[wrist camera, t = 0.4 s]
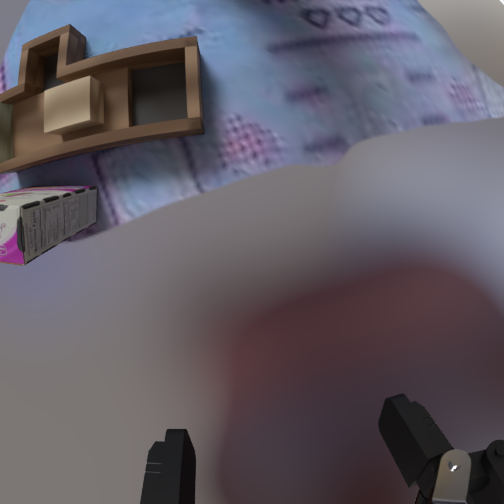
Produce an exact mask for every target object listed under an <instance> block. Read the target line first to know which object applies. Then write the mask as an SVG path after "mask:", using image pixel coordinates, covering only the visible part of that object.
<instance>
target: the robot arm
mask: <svg viewBox="0 0 504 504" xmlns="http://www.w3.org/2000/svg"><path fill="white" fill-rule="evenodd" d="M378 426H379V431H380V433H381V435H382V437H383V439H384V441H385V443H386V445H387V447H388V449H389V450H390V452H391V454H392V456H393V458H394V460H395V462H396V464H397V466H398V468H399V470H400V471H401V474H402V475H403V478H404V479H405V481H406V483H407V485H408V487H409V488H410V487H412V486H414V485H416V484H417V485H418V486H419V490H418V493H417V496H416V500H415V503H414V504H466V502H467V504H504V440H495V441H493V442H492V443H491V444H489V446H488V447H487V449H486V450H482V451H477V452H473V453H466V452H464V451H462V450H459V449H454V448H453V447H452V446H451V445H450V443H449V442H448V440H447V439H446V438H445V436H444V434H443V433H442V432H441V430H440V429H439V427H438V426H437V424H435V422H434V420H433V419H432V417H430V414H429V413H428V412H427V410H426V409H425V407H423V406H422V405H420V404H419V403H417V402H415V401H414V402H410V401H409V400H408V398H407V397H406V395H405V394H398V395H395V396H392V397H389V398H386V399H385V401H384V405H383V408H382V412H381V415H380V418H379V422H378ZM145 471H146V473H145V476H144V482H143V489H142V495H141V502H140V504H195V479H196V478H195V477H196V456H195V450H194V447H193V445H192V442H191V439H190V437H189V434H188V431H187V430H186V429H167V431H166V436H165V442H157V441H156V442H155V443H154V444H153V446H152V447H151V449H150V450H149V454H148V458H147V464H146V470H145Z"/></svg>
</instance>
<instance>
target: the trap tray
mask: <svg viewBox="0 0 504 504" xmlns="http://www.w3.org/2000/svg"><path fill="white" fill-rule="evenodd" d="M85 42H86V37H85V36H84V35H82V34H81V33H80V32H79V31H78V30H77V29H75V28H74V27H73V26H72V25H71V24H69V25H66V26H64V27H61V28H59V29H56V30H54V31H51V32H49V33H47V34H44V35H42V36H40V37H38V38H36V39H33V40H31V41H29V42H27V43H25V44H23V46H22V53H21V60H20V68H19V77H18V86H16V87H13V88H11V89H9V90H7V91H5V92H3V93H1V94H0V174H5V173H13V172H19V171H22V170H25V169H28V168H31V167H35V166H38V165H42V164H45V163H49V162H53V161H56V160H60V159H64V158H68V157H72V156H76V155H80V154H85V153H89V152H94V151H98V150H103V149H108V148H113V147H118V146H124V145H129V144H135V143H141V142H147V141H154V140H160V139H167V138H175V137H183V136H191V135H201V134H204V124H203V108H202V90H201V69H200V51H199V46H198V41H197V37H196V36H194V37H186V38H179V39H172V40H165V41H159V42H154V43H148V44H143V45H138V46H134V47H129V48H125V49H121V50H117V51H113V52H109V53H105V54H102V55H98V56H95V57H91V58H88V59H85V60H84V54H85ZM87 76H92V77H93V78H95V79H96V80H98V81H100V82H101V83H103V84H104V124H103V125H99V126H94V127H90V128H86V129H82V130H78V131H75V132H71V133H67V134H64V135H56V134H48V133H44V91H45V90H48V89H51V88H54V87H56V86H59V85H62V84H65V83H68V82H71V81H74V80H77V79H80V78H84V77H87Z"/></svg>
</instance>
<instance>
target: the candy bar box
mask: <svg viewBox="0 0 504 504" xmlns="http://www.w3.org/2000/svg"><path fill="white" fill-rule="evenodd" d="M96 203H97V186H32V187H28V188H23V189H18V190H14V191H9V192H5V193H0V263H7V264H15V265H23V266H24V265H26V264H27V263H29V262H31V261H32V260H34V259H35V258H37V257H38V256H40V255H41V254H43V253H45V252H47V251H48V250H50V249H51V248H53V247H55V246H57V245H58V244H60V243H62V242H63V241H65V240H66V239H68V238H70V237H72V236H74V235H75V234H77V233H79V232H81V231H82V230H84V229H86V228H88V227H90V226H92V225H93V224H95V223H96V222H97V209H96Z"/></svg>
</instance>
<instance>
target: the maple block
mask: <svg viewBox="0 0 504 504" xmlns="http://www.w3.org/2000/svg"><path fill="white" fill-rule="evenodd" d="M103 124H104V84H103V83H101V82H100V81H98V80H96V79H95V78H93V77H92V76H87V77H84V78H80V79H77V80H74V81H71V82H68V83H65V84H62V85H59V86H56V87H54V88H51V89H48V90H45V91H44V133H48V134H56V135H64V134H67V133H71V132H75V131H78V130H82V129H86V128H90V127H94V126H99V125H103Z"/></svg>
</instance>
